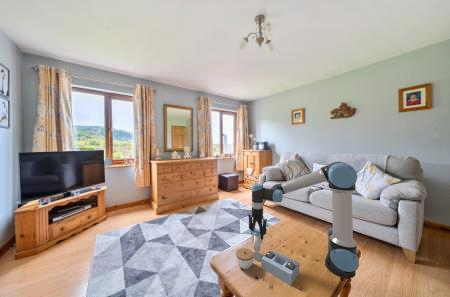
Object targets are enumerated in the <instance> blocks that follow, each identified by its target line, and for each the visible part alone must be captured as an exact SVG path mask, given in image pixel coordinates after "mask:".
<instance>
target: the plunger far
mask: <svg viewBox="0 0 450 297" xmlns="http://www.w3.org/2000/svg"><path fill="white" fill-rule="evenodd" d="M266 253H267V258H269V259H272V252H269V251H267V252H266Z"/></svg>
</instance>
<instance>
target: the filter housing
mask: <svg viewBox="0 0 450 297" xmlns="http://www.w3.org/2000/svg"><path fill="white" fill-rule="evenodd" d="M268 252H272V259H269V258H267V252H266V254H263V255H264V256H263V257H262V258H261V260H260V262H261V263H260V264H261V265H260V269H262V270H264V271H265V272H267V273H269V274H271V275H272V276H274V277H275V278H277V279H279V280H281V281H283V282H284V283H286V284H287V285H289V286H292V285H293V283H294V282H295V281H296V279H297V277H298V276H299V275H300V262H298V261H297V260H295V259H293V258H290V257H288V256H286V255H284V254H282V253H279V252H278V251H276V250H273V249H270V250H268ZM288 262H293V263H294V271H292V270H290V269H288Z"/></svg>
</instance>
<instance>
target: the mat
mask: <svg viewBox="0 0 450 297" xmlns="http://www.w3.org/2000/svg"><path fill="white" fill-rule="evenodd" d="M264 255H265V254H263V253H260V251H255V250H254V252H253V260H256V261H257V262H261V258H262V257H263V256H264Z"/></svg>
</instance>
